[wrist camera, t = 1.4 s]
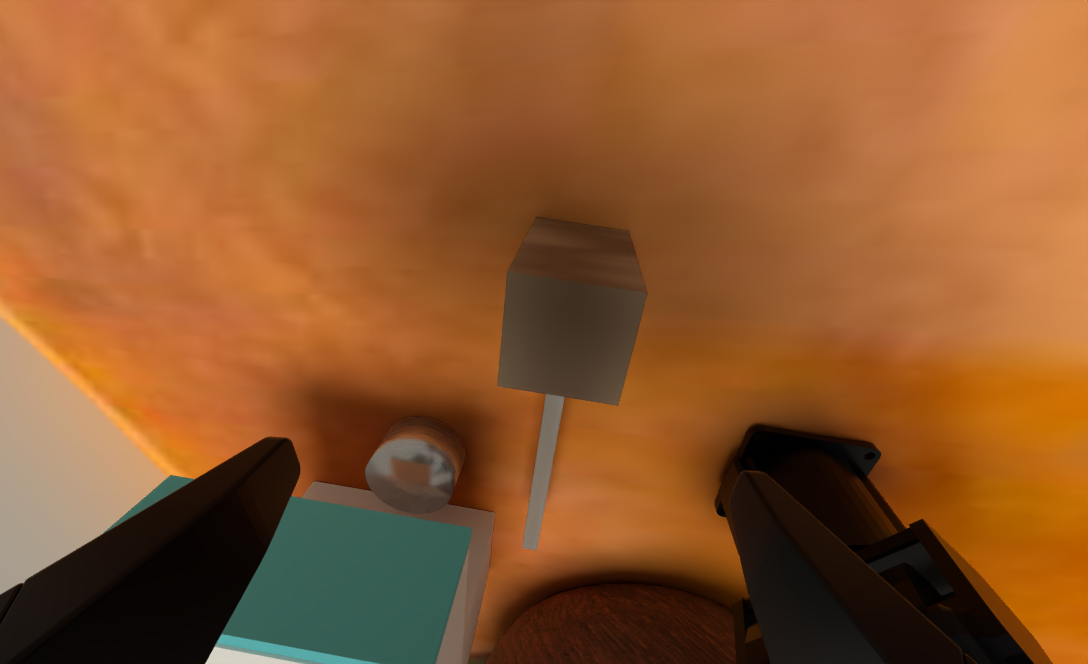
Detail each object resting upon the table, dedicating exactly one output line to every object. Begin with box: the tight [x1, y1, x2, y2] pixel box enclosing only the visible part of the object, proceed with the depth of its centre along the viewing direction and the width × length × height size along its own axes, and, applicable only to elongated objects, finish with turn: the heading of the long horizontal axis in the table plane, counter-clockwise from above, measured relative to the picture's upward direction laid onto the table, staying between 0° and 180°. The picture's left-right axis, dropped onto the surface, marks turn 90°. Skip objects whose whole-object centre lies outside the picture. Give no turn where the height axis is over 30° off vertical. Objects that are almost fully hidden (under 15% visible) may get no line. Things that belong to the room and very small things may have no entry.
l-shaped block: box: [103, 475, 495, 664], centre depth 21 cm, size 12×15×12 cm
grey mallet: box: [497, 217, 647, 550], centre depth 19 cm, size 4×17×7 cm, turn 173°
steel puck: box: [365, 416, 466, 514], centre depth 24 cm, size 5×5×3 cm
